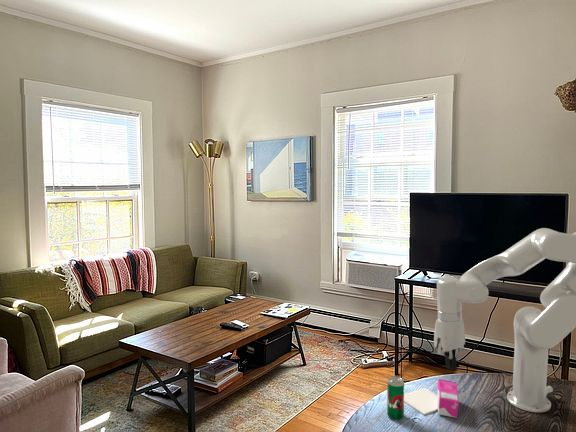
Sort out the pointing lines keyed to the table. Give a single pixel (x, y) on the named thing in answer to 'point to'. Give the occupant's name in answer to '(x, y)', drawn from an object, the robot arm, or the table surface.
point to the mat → (422, 401)
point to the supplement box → (447, 398)
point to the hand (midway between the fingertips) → (451, 368)
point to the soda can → (395, 398)
